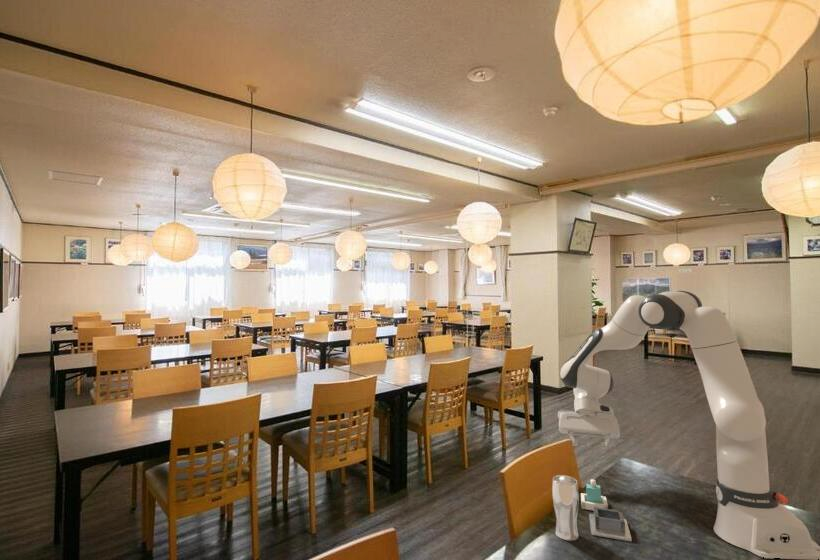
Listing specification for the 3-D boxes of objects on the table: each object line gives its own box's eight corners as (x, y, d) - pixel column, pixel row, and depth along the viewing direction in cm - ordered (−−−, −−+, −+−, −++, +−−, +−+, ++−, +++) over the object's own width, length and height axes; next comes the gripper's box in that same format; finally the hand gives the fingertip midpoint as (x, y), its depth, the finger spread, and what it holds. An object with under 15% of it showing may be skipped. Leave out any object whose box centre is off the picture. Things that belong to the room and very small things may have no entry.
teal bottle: (600, 504, 131) (599, 479, 131) (601, 509, 128) (600, 483, 128) (587, 502, 132) (586, 477, 132) (587, 507, 129) (586, 481, 130)
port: (626, 522, 120) (625, 508, 120) (631, 541, 110) (630, 526, 111) (589, 516, 123) (588, 503, 123) (591, 534, 114) (590, 520, 114)
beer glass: (582, 543, 110) (580, 486, 111) (555, 540, 111) (553, 484, 112) (577, 528, 117) (575, 475, 118) (552, 526, 118) (550, 473, 119)
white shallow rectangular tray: (606, 502, 132) (605, 496, 132) (608, 512, 125) (607, 506, 126) (581, 499, 134) (580, 493, 134) (581, 508, 128) (581, 502, 128)
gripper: (557, 404, 153) (557, 439, 144) (617, 408, 146) (622, 445, 137) (557, 413, 157) (558, 447, 148) (616, 417, 150) (621, 454, 141)
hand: (589, 446), depth 142 cm, fingers open, 8 cm apart
